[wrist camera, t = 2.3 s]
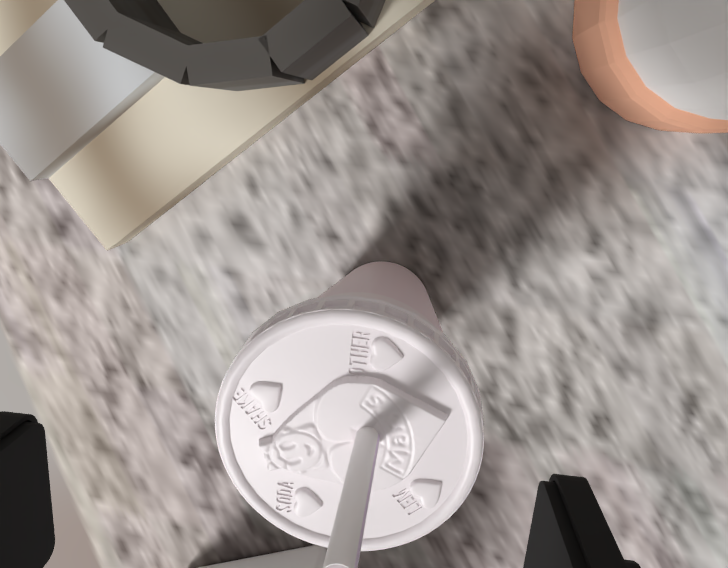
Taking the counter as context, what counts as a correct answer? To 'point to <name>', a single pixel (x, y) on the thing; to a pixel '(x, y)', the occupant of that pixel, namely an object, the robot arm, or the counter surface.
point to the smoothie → (353, 417)
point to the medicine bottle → (281, 559)
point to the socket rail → (164, 90)
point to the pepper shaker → (657, 60)
